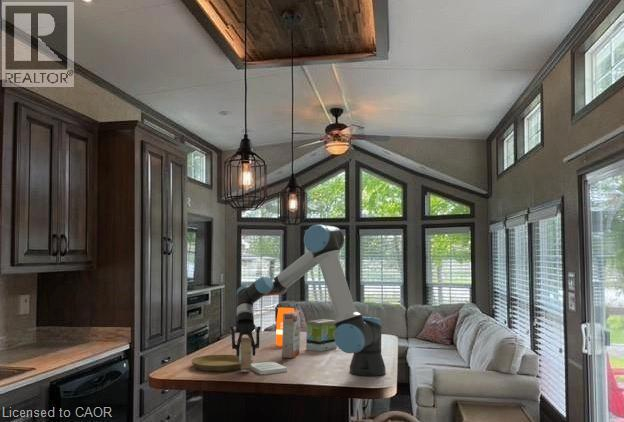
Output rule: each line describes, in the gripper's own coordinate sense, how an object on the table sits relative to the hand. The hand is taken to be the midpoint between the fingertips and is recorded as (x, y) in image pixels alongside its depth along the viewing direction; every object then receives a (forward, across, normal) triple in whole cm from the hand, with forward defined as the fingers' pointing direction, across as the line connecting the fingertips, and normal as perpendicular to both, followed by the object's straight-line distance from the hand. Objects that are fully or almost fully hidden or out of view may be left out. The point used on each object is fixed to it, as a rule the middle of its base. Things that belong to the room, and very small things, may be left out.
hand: (246, 361), depth 201 cm
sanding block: (0, 0, -5) cm, 5 cm away
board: (-2, -9, -9) cm, 13 cm away
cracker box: (-22, -23, -29) cm, 43 cm away
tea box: (-33, -42, -41) cm, 67 cm away
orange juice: (-43, -24, -50) cm, 70 cm away
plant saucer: (-8, +11, -15) cm, 20 cm away
